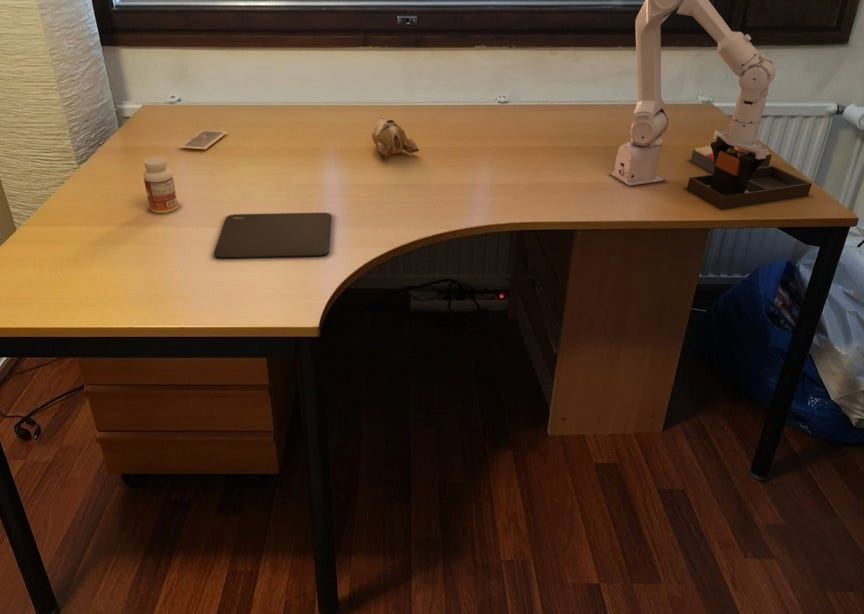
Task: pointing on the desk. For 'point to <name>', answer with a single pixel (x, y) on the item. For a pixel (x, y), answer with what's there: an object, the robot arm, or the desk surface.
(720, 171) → the battery
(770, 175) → the organizer
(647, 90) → the robot arm
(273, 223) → the mouse pad
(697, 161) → the red and cream box
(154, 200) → the pill bottle
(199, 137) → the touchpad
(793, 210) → the desk surface
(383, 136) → the ceramic sculpture
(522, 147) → the desk surface
